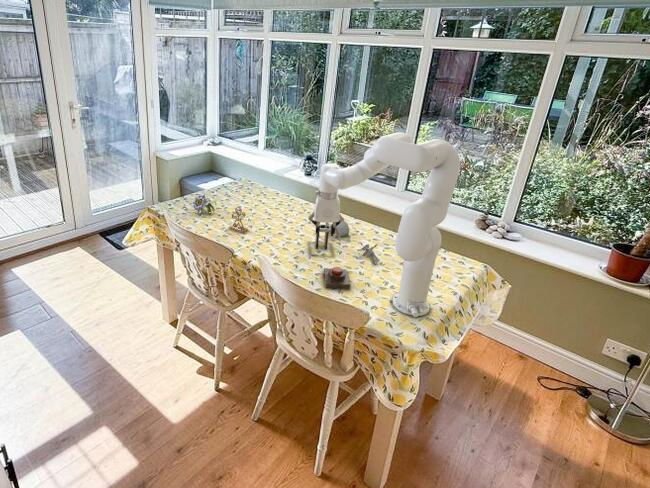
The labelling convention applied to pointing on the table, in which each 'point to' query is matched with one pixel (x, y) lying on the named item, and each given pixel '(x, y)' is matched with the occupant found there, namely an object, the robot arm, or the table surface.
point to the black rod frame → (324, 238)
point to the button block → (336, 279)
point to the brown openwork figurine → (239, 221)
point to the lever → (324, 229)
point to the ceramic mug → (341, 230)
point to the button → (337, 271)
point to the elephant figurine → (370, 253)
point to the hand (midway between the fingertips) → (324, 234)
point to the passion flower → (202, 204)
